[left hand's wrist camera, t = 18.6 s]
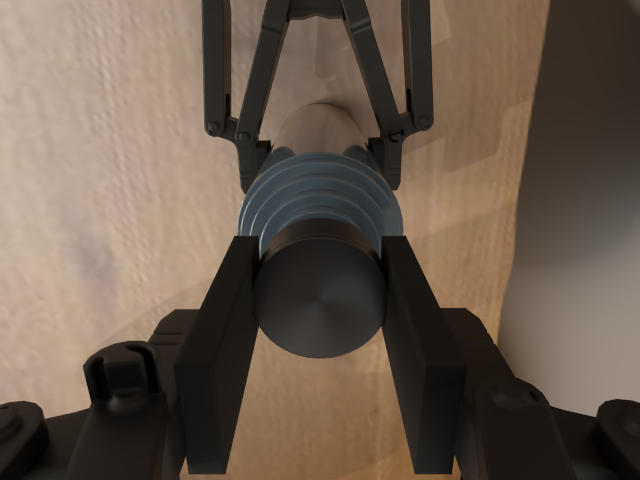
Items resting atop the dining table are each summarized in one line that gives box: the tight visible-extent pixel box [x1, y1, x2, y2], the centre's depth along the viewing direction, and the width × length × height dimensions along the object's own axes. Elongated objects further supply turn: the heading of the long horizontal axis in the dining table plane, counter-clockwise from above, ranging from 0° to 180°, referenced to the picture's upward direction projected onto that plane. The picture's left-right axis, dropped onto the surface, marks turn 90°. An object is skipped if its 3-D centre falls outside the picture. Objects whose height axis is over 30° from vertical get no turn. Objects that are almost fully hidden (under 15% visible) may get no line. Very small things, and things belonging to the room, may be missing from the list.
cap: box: [252, 218, 388, 358], centre depth 14 cm, size 4×4×2 cm
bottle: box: [237, 104, 403, 260], centre depth 25 cm, size 7×7×24 cm
